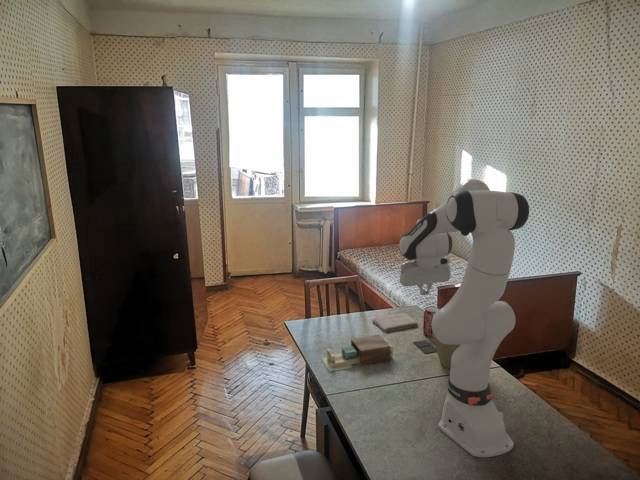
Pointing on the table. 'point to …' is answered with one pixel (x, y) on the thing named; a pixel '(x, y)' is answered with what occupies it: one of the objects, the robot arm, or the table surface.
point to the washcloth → (394, 322)
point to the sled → (347, 356)
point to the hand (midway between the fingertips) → (424, 294)
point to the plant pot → (445, 352)
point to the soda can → (429, 320)
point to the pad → (334, 367)
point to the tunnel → (372, 349)
